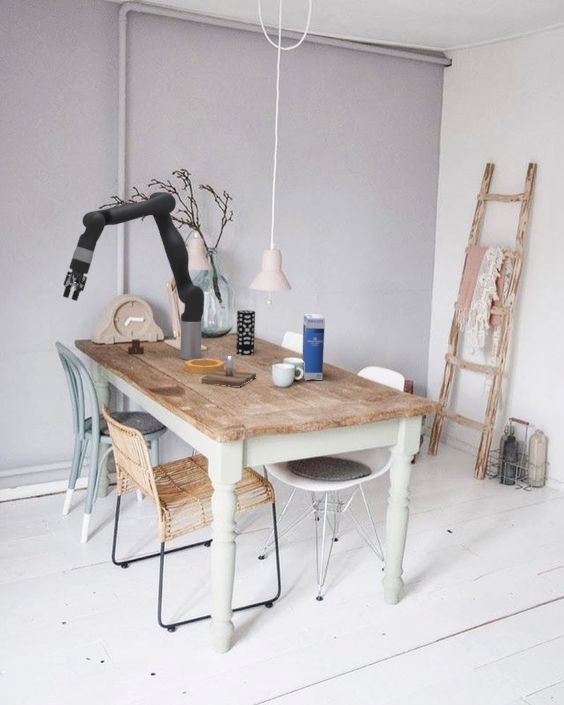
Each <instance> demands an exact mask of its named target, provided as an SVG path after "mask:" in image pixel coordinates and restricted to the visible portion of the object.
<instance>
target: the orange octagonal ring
mask: <svg viewBox="0 0 564 705" xmlns="http://www.w3.org/2000/svg"><path fill="white" fill-rule="evenodd" d="M219 369H222V370H225V363H224V362H223V361H221V360H220V359H211V358H201V359H192V360H186V361H184V371H186V372H188V374H189V373H190V374H197V373H199V374H200V375H209V374H211V373H213V372H215V371H217V370H219ZM199 374H198V375H199Z"/></svg>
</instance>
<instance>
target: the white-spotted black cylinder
mask: <svg viewBox="0 0 564 705" xmlns="http://www.w3.org/2000/svg"><path fill="white" fill-rule="evenodd" d="M236 313H237V314H236V347H235V349H236V351H235V352H236V355H238V356H243V355H249V356H253V354H254V355H255V335H256V334H255V330H256V329H255V327H256V326H255V325H256V311H254V310H248V309H247V310H245V309H244V310H237V311H236Z"/></svg>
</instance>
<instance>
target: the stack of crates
mask: <svg viewBox="0 0 564 705" xmlns="http://www.w3.org/2000/svg"><path fill="white" fill-rule="evenodd" d="M144 354H145V347H144V346H141V341H140V338H139V339H135V338H134V339H131V346H127V355H144Z"/></svg>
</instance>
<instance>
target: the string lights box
mask: <svg viewBox="0 0 564 705" xmlns="http://www.w3.org/2000/svg"><path fill="white" fill-rule="evenodd" d="M325 321H326V319H325V317H324V316H323V315H322V313H303V323H302V324H303V326H302V327H303V328H302V360H303V361H304V362H305V365H304V377H303V380H304V381H307V380H310V379H318V380H322V381H323V372H324V371H323V370H324V369H323V366H324V345H325V344H324V343H325ZM302 360H301V361H302Z"/></svg>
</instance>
